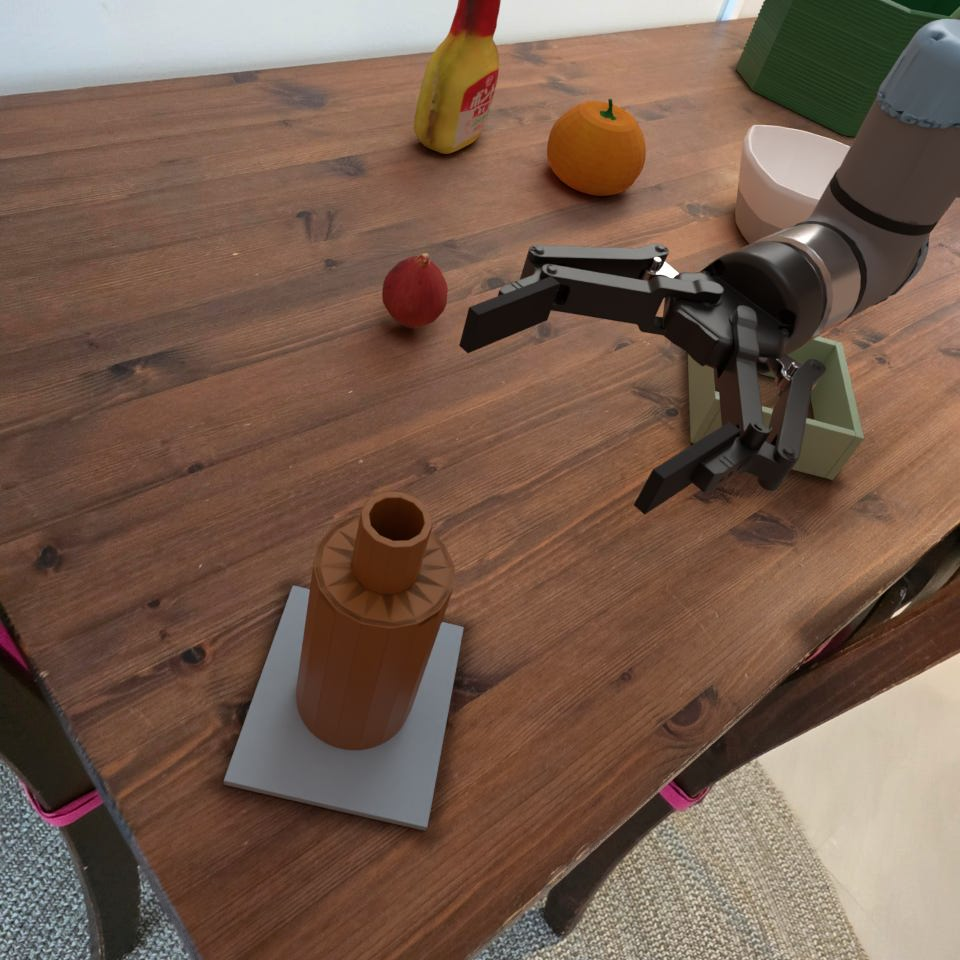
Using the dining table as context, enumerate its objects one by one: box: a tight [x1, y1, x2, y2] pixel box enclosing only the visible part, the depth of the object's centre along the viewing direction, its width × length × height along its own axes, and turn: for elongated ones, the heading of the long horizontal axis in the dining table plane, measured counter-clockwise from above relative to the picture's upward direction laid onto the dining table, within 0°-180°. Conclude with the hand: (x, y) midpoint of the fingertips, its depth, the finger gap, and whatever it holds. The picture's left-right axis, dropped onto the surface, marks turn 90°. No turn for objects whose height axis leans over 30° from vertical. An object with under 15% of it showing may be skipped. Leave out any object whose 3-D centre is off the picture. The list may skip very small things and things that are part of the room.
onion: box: [381, 252, 449, 329], centre depth 79 cm, size 6×6×8 cm
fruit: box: [546, 98, 647, 197], centre depth 104 cm, size 12×12×10 cm
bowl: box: [734, 124, 851, 245], centre depth 106 cm, size 18×18×9 cm
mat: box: [223, 585, 465, 832], centre depth 56 cm, size 14×12×1 cm
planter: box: [735, 0, 960, 138], centre depth 137 cm, size 26×26×18 cm
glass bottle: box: [296, 491, 456, 750], centre depth 49 cm, size 7×7×18 cm
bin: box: [687, 336, 865, 481], centre depth 83 cm, size 14×14×6 cm
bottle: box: [413, 0, 502, 155], centre depth 99 cm, size 12×6×20 cm, turn 141°
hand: (552, 407), depth 46 cm, fingers open, 13 cm apart
